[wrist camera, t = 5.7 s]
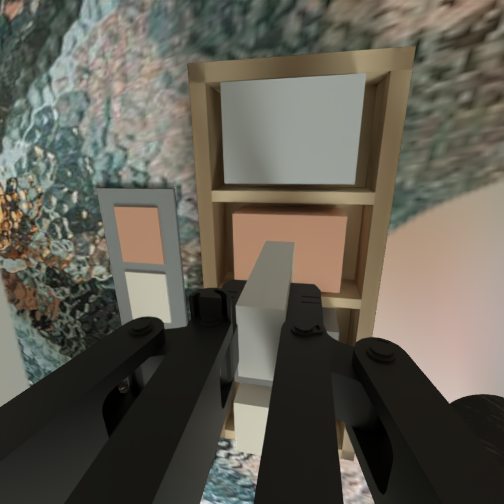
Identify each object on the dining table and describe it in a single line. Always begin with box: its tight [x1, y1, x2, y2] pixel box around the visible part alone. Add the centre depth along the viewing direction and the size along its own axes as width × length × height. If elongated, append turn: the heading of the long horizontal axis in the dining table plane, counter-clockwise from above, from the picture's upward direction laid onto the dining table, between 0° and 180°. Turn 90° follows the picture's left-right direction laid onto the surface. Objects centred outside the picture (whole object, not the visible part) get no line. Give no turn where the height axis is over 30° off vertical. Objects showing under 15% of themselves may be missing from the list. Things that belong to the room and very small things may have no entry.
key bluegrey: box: [220, 73, 366, 184], centre depth 16 cm, size 7×5×3 cm
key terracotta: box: [232, 206, 347, 293], centre depth 19 cm, size 7×5×3 cm
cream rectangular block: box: [234, 382, 272, 455], centre depth 23 cm, size 7×5×3 cm
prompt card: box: [97, 188, 188, 329], centre depth 25 cm, size 7×14×1 cm, turn 1°
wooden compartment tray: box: [188, 46, 416, 461], centre depth 21 cm, size 12×29×4 cm, turn 1°
